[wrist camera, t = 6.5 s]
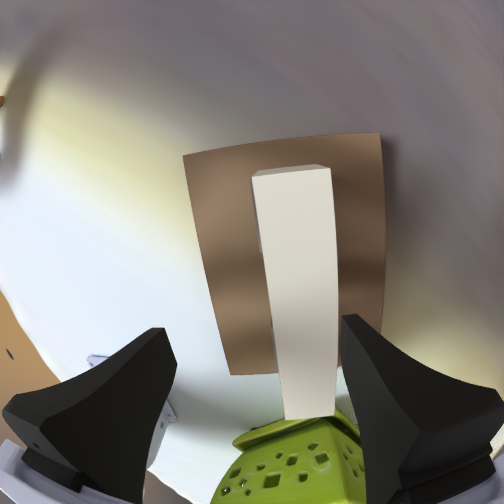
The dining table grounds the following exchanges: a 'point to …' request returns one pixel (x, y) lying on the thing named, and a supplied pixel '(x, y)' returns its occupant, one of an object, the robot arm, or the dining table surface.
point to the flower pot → (297, 464)
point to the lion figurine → (1, 100)
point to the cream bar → (301, 283)
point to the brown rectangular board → (249, 241)
